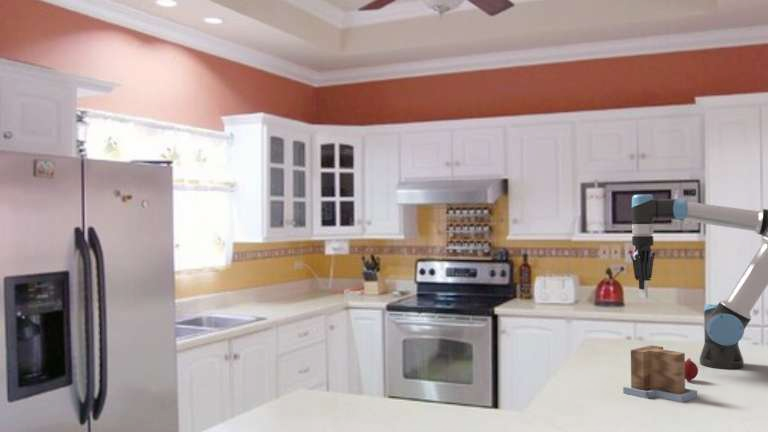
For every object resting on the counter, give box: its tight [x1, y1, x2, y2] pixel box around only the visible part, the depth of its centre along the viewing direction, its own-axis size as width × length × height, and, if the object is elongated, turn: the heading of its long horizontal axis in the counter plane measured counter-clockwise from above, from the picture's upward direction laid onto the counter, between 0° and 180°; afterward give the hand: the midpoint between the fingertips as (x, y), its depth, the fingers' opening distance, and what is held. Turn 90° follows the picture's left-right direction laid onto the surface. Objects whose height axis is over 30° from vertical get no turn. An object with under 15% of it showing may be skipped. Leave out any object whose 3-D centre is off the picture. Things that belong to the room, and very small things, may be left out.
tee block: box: [630, 345, 686, 395], centre depth 230 cm, size 14×12×14 cm
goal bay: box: [622, 386, 698, 403], centre depth 229 cm, size 18×17×2 cm
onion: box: [685, 357, 699, 382], centre depth 246 cm, size 6×6×8 cm
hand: (643, 297), depth 267 cm, fingers closed
